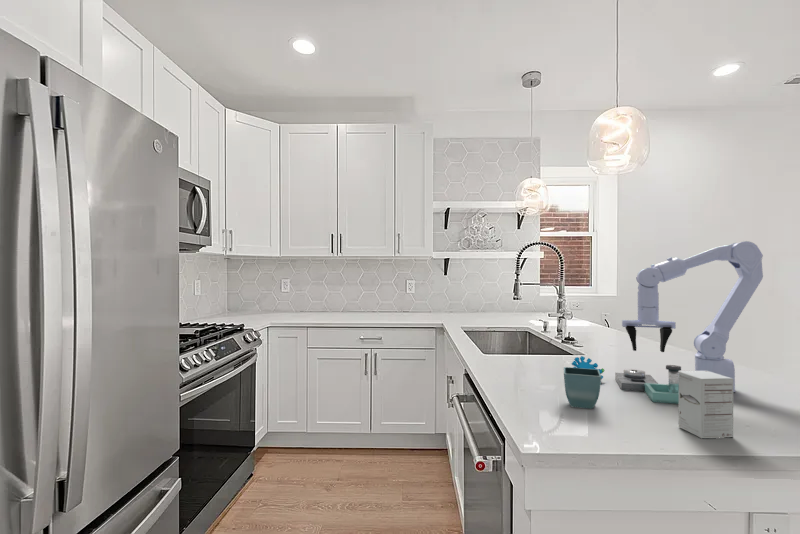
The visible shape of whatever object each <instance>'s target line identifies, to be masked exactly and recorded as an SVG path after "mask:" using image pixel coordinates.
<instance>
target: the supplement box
mask: <svg viewBox="0 0 800 534" xmlns="http://www.w3.org/2000/svg"><path fill="white" fill-rule="evenodd" d="M678 428H680V429H682V430H685V431H686V432H689V433H691V435H692V434H693V435H695V436H697V437H699V438H700V439H702V438H716V439H723V438H722V437H733V438H734V392H733V378H730V377H726V376H723V375H720V374H716V373H713V372H710V371H695V370H680V371H679V404H678ZM719 437H720V438H719Z"/></svg>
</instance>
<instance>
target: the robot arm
mask: <svg viewBox="0 0 800 534" xmlns="http://www.w3.org/2000/svg"><path fill="white" fill-rule="evenodd" d="M763 257H764V255H763V253H762V251H761V250H760V247H758V245H757V244H756V243H754V242H752V241H747V240H746V241H744V240H743V241H739V242H733V243H730V244H727V245H720V246H716V247H713V248H710V249H708V250H706V251H702V252H700V253H697V254H695V255H691V256H690V257H686V258H684V259H681V258H679V257H674V258H673V257H668V258H666V261H662V262H660V263H657V264H655V263H653V264H650V267H646V268H643V269H641V270H639V271H638V273H637V275H636V281H637V284H638V285H637V289H638V291H637V319H635V320H634V319H632V320H631V319H630V320H629V319H627V320H626V319H622V320H621V326H622V328H625V330H626V332H627V334H628V336H629V339H630V341H631V347H632V351H633V352H637V329H636V328H652V329H653V328H656V329H657V328H658V329H659V334H660V336H659V337H660V343H659V344H660V347H659V351H660V352H661V353H665V349H666V345H667V343H668V340H669V338H670V337H671V334H672V333H673V329H676V322H675V321H667V320H665V321H664V320H659V318H660V316H659V315H660V314H659V312H660V311H659V310H660V308H659V304H660V303H659V302H660V300H659V296H660V295H659V283H660V282H661V283H665V282H667V281H671V280H674V279H678V278H680V277H683V276H684V275H686V273H687V271H688V270H689V269H693V268H695V267H699V266H702V265H705V264H709V263H711V262H714V261H719V262H720V261H721V262H726V261H727V262H728V263H729V264H731V266H733V268H734V270H735V271H736V273H737V275H738V278H737V280H736V282H735V283H734V285H733V286H732V288H731V290H730V292H729V293H728V294H727V296H726V298H725V300H723V303H722V305H721V306H720V308H719V309H718V311H717V313H715V316H714V318H713V319H712V321H711V322H710V323H709V324H708V325H707V326H706V327H705V328H704V330H703V331H702V332H701V333H699V334H698V335H696V336H695V338H694V340H693V346H694V348H695V349H696V353H695V354H694V371H710V372H713V373H716V374H720V375H723V376H726V377H730V378H733V393H734V392H735V393H736V392H737V390H736V384H735V383H736V379H735V377H736V374H735V373H736V371H735V364H734V361H733V360H732V359H730V358H725V357H724V355H725V353H726V352H727V351H726V350H727V343H728V341H729V339H730V332H731V330H732V329H733V327H734V325H735V324H736V322H737V320H738V319H739V318H740V316H741V315H742V312H744V310H745V308H746V306H747V304H748V303H749V301H750V299H751V298H752V297H753V295H754V293H755V292H756V290H757V288H758V286H760V283H761V282H762V280H763V277H764V272H763V263H762V262H763Z"/></svg>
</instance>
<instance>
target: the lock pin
mask: <svg viewBox="0 0 800 534" xmlns="http://www.w3.org/2000/svg"><path fill="white" fill-rule="evenodd" d="M665 370H668V373H667V374H668V375H667V376H668V377H667V378H668V385H669V393H679V371H682V366H680V365H674V364H667V365H665Z"/></svg>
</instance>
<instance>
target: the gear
mask: <svg viewBox="0 0 800 534" xmlns="http://www.w3.org/2000/svg"><path fill="white" fill-rule="evenodd" d="M573 359H574V360H573V361H572V363H571V365H572V366H573V367H572V368H585V369H598V370H599V372H600V374H601V380H602V379H604V376H603V375H602V374H603V373H604V372H605V368H601V369H600V368H598V367H599V365H598V363H597V362H595V363H592V362H593V361H592V358H589V357H588V358H587V359H586V357H585V356H582V355H581V356H580V357H578V356H577V357H575V358H573ZM585 359H586V361H585Z"/></svg>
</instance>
